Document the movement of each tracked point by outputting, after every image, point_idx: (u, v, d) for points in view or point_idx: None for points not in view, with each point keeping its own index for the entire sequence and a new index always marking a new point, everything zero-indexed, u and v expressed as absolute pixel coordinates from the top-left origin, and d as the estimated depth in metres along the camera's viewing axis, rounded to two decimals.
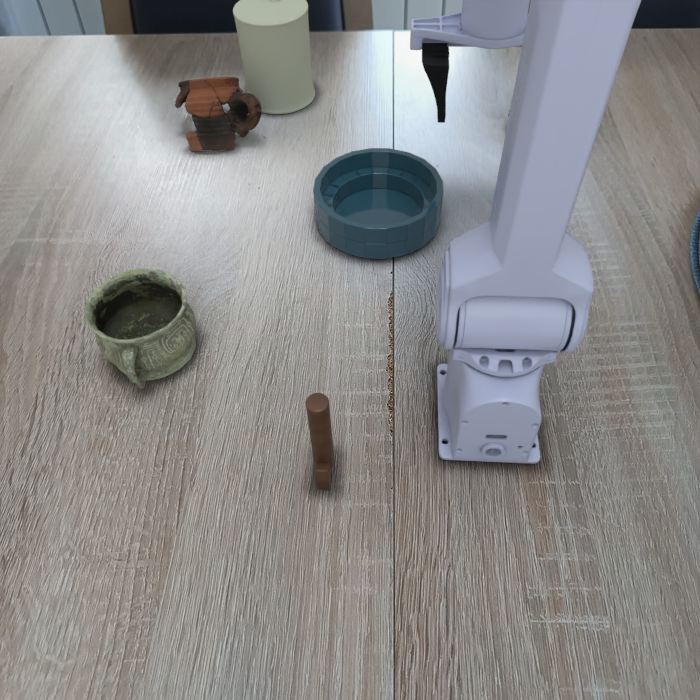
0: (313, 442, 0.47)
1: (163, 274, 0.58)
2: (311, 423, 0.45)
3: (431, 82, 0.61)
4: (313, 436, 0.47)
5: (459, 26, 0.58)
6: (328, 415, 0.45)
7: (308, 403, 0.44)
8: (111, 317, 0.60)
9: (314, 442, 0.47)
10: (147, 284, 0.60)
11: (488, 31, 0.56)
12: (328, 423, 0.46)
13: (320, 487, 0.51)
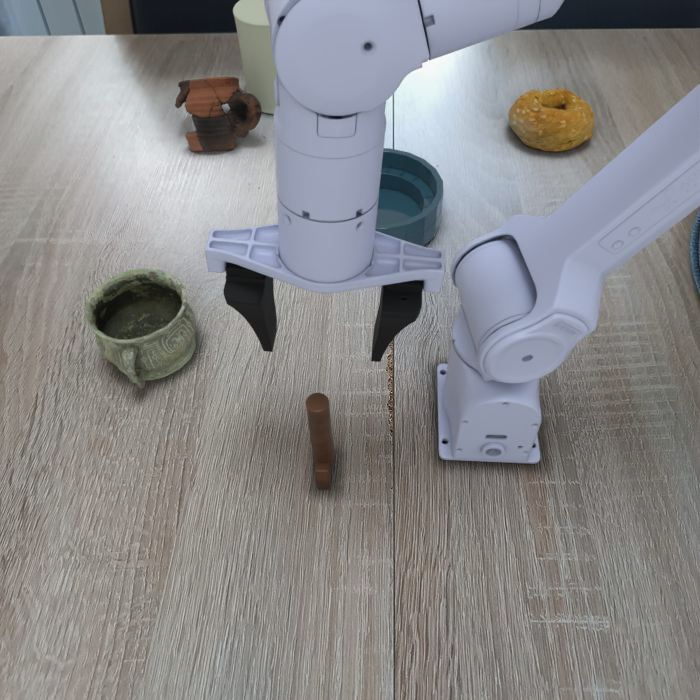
0: (313, 442, 0.47)
1: (163, 274, 0.58)
2: (311, 423, 0.45)
3: (241, 314, 0.42)
4: (313, 436, 0.47)
5: (276, 249, 0.40)
6: (328, 415, 0.45)
7: (308, 403, 0.44)
8: (111, 317, 0.60)
9: (314, 442, 0.47)
10: (147, 284, 0.60)
11: (309, 271, 0.38)
12: (328, 423, 0.46)
13: (320, 487, 0.51)
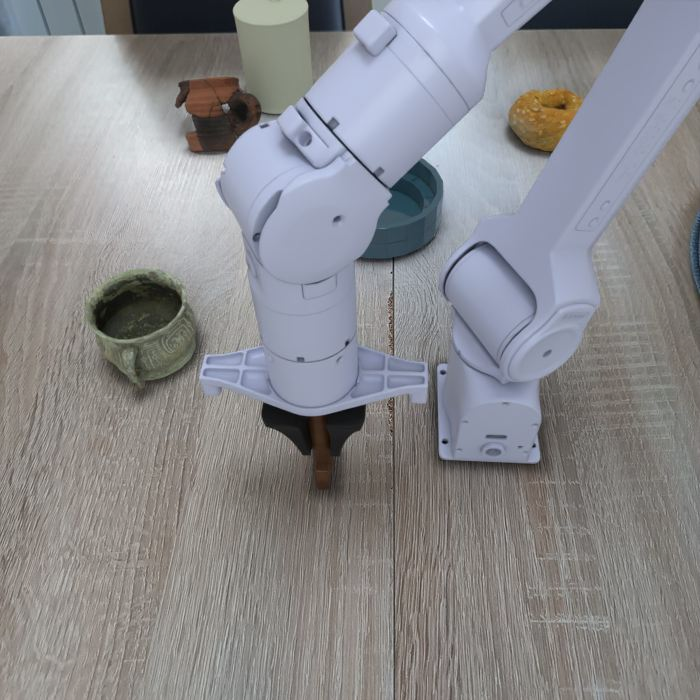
0: (313, 442, 0.47)
1: (163, 274, 0.58)
2: (311, 423, 0.45)
3: (279, 431, 0.44)
4: (313, 436, 0.47)
5: (266, 373, 0.42)
6: None
7: None
8: (111, 317, 0.60)
9: (314, 442, 0.47)
10: (147, 284, 0.60)
11: (297, 399, 0.39)
12: None
13: (320, 487, 0.51)
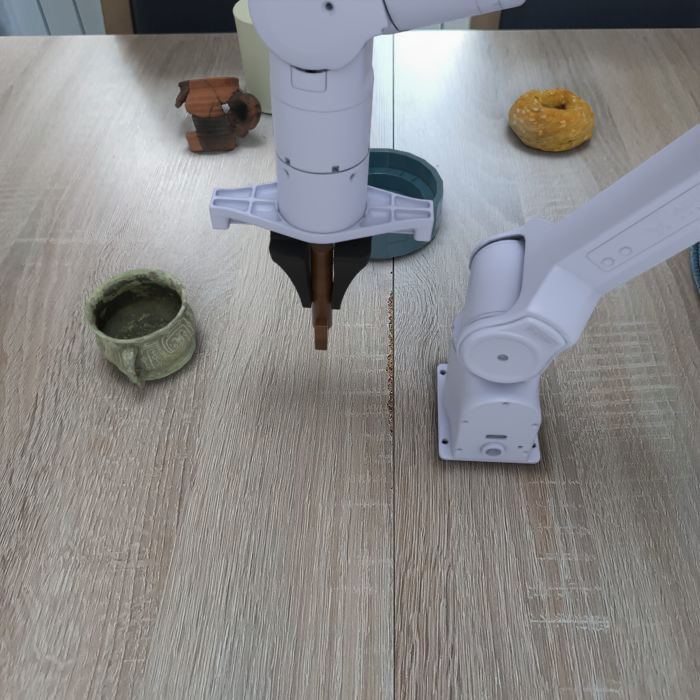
0: (314, 293, 0.48)
1: (163, 274, 0.58)
2: (314, 268, 0.46)
3: (285, 271, 0.45)
4: (315, 285, 0.48)
5: (276, 205, 0.42)
6: (331, 260, 0.46)
7: (313, 245, 0.45)
8: (111, 317, 0.60)
9: (315, 293, 0.48)
10: (147, 284, 0.60)
11: (307, 223, 0.40)
12: (331, 270, 0.47)
13: (317, 347, 0.52)
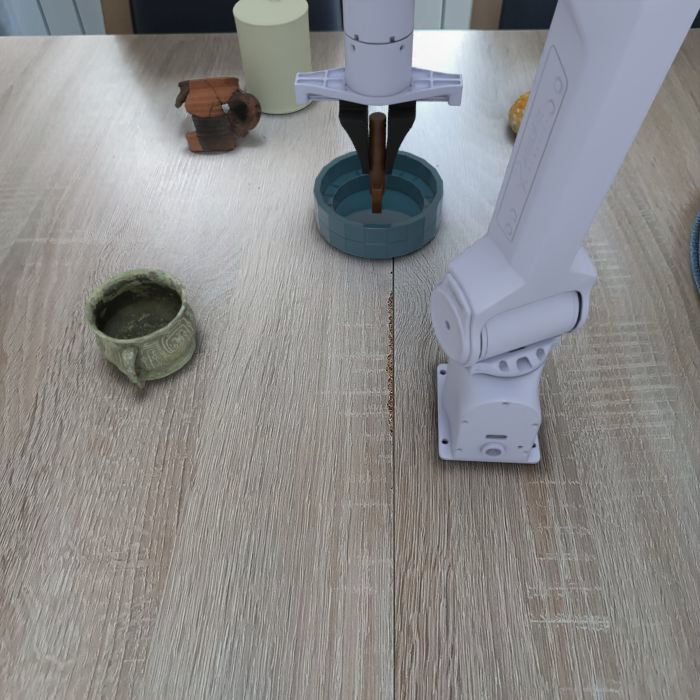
0: (371, 161, 0.63)
1: (163, 274, 0.58)
2: (372, 137, 0.60)
3: (350, 136, 0.59)
4: (372, 153, 0.62)
5: (343, 81, 0.57)
6: (385, 129, 0.60)
7: (371, 117, 0.59)
8: (111, 317, 0.60)
9: (372, 160, 0.62)
10: (147, 284, 0.60)
11: (368, 88, 0.55)
12: (384, 138, 0.61)
13: (374, 211, 0.66)
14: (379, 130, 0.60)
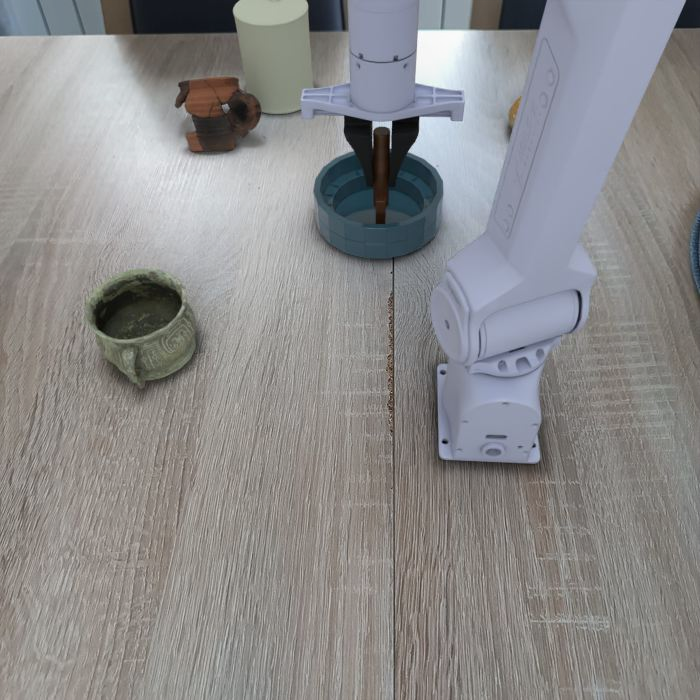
0: (375, 173, 0.64)
1: (163, 274, 0.58)
2: (376, 151, 0.62)
3: (354, 150, 0.61)
4: (376, 166, 0.63)
5: (348, 97, 0.58)
6: (389, 143, 0.62)
7: (375, 131, 0.61)
8: (111, 317, 0.60)
9: (376, 173, 0.64)
10: (147, 284, 0.60)
11: (373, 105, 0.56)
12: (388, 152, 0.62)
13: (377, 222, 0.68)
14: (383, 144, 0.61)
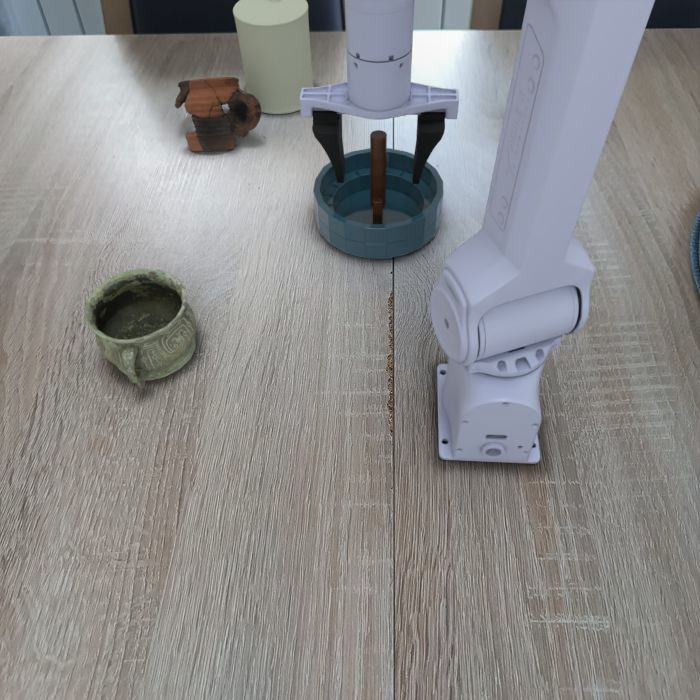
0: (373, 175, 0.66)
1: (163, 274, 0.58)
2: (373, 153, 0.64)
3: (324, 147, 0.63)
4: (373, 168, 0.66)
5: (346, 96, 0.60)
6: (385, 146, 0.64)
7: (372, 135, 0.63)
8: (111, 317, 0.60)
9: (373, 175, 0.66)
10: (147, 284, 0.60)
11: (370, 103, 0.58)
12: (385, 155, 0.65)
13: (375, 222, 0.70)
14: (380, 147, 0.64)
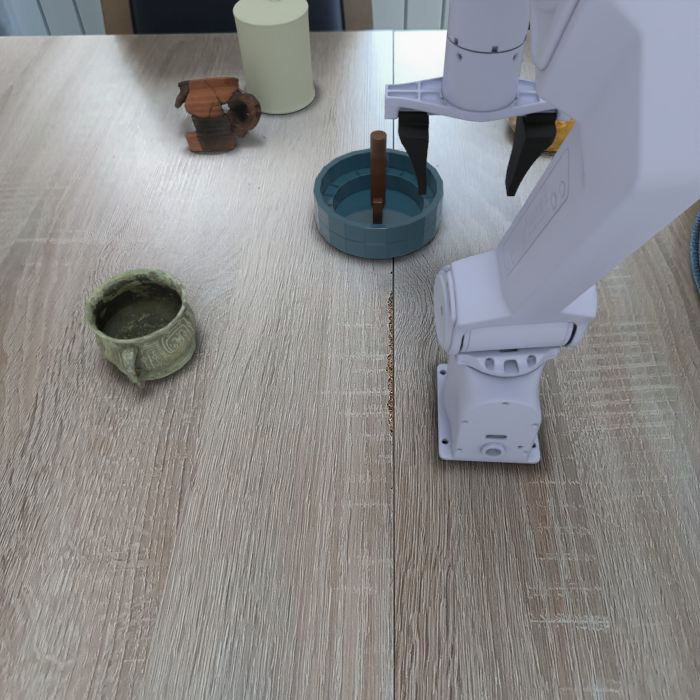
0: (373, 175, 0.66)
1: (163, 274, 0.58)
2: (373, 153, 0.64)
3: (409, 154, 0.53)
4: (373, 168, 0.66)
5: (440, 94, 0.51)
6: (385, 146, 0.64)
7: (372, 135, 0.63)
8: (111, 317, 0.60)
9: (373, 175, 0.66)
10: (147, 284, 0.60)
11: (472, 102, 0.48)
12: (385, 155, 0.65)
13: (375, 222, 0.70)
14: (380, 147, 0.64)
